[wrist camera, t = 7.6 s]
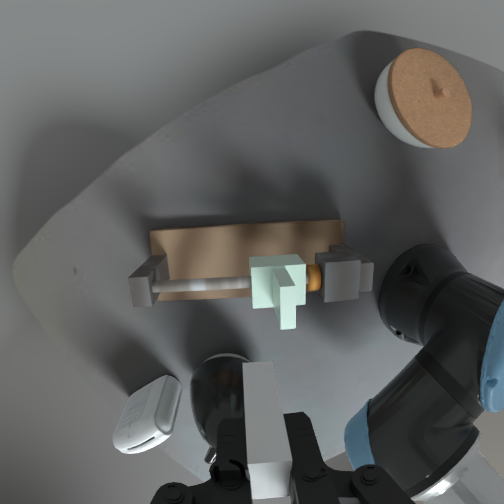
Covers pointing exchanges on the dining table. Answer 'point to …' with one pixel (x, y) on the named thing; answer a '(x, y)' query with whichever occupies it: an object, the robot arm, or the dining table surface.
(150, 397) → the photo printer
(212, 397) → the pump dispenser
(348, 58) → the dining table surface
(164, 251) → the rod stand
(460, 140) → the lidded bowl
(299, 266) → the pale green block
